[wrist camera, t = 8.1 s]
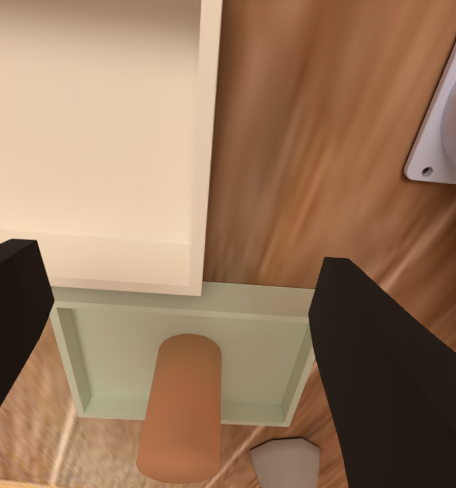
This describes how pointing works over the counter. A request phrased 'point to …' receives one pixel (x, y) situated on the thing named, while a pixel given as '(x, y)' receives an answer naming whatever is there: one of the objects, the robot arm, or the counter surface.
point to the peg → (183, 412)
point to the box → (109, 138)
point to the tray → (186, 322)
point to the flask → (287, 464)
